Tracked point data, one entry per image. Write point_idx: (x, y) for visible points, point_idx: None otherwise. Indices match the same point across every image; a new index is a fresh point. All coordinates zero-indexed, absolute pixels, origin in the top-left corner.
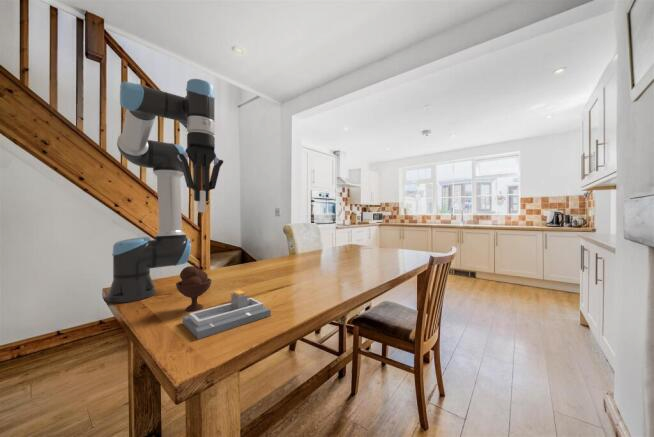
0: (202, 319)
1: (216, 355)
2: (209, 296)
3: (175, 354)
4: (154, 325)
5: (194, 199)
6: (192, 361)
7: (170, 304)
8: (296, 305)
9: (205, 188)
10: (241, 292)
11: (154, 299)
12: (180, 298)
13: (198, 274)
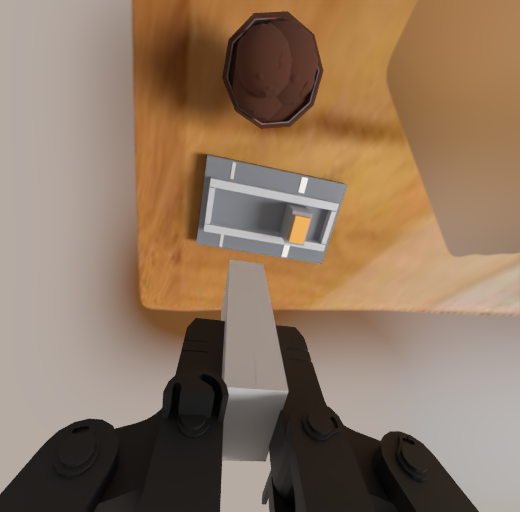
0: (212, 228)
1: (193, 294)
2: (343, 18)
3: (158, 254)
4: (167, 113)
5: (186, 335)
6: (167, 285)
7: None
8: (378, 261)
9: (271, 490)
10: (300, 237)
11: None
12: None
13: (279, 93)
